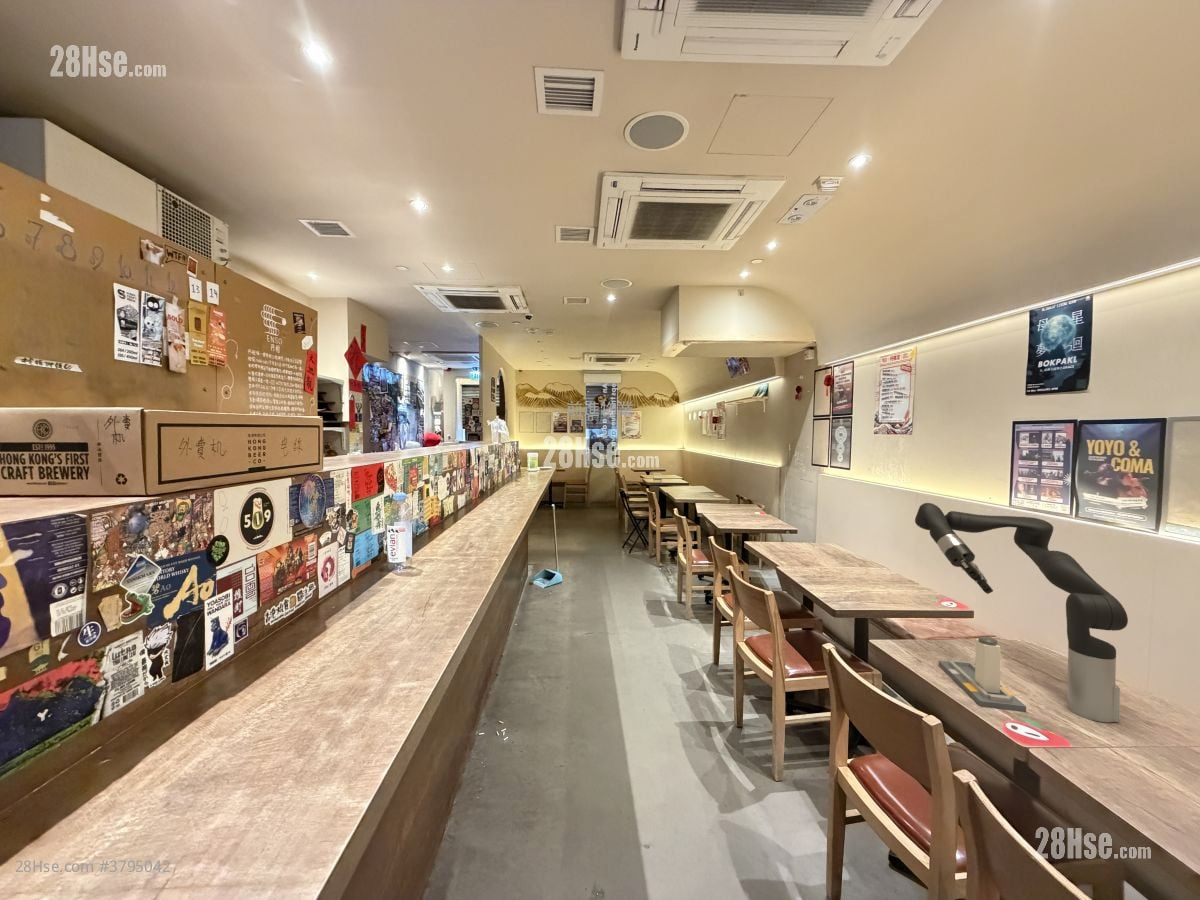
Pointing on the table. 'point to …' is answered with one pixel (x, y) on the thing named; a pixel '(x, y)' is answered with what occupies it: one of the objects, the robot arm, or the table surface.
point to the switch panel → (966, 680)
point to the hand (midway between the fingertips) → (989, 591)
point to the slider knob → (987, 664)
